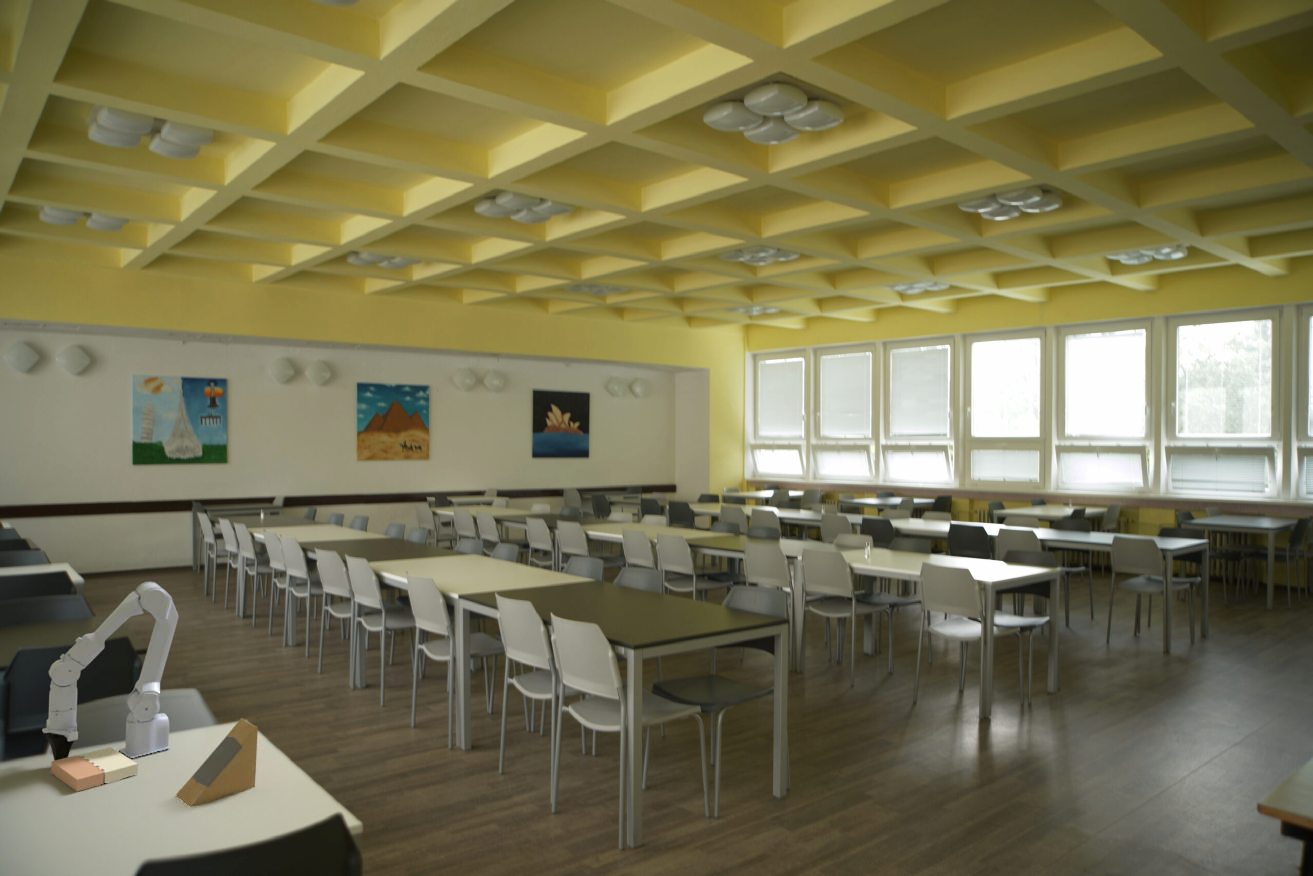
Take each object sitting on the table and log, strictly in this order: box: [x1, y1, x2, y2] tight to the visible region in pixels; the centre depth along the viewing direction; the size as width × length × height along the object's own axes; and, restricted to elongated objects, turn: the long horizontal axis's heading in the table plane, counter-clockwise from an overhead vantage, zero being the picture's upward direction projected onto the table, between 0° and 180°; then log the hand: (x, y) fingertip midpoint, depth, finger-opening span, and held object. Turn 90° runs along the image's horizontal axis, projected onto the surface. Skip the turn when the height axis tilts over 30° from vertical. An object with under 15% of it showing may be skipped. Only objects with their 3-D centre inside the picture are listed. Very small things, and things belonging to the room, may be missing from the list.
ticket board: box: [78, 747, 139, 784], centre depth 209 cm, size 7×16×3 cm, turn 54°
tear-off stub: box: [50, 754, 104, 792], centre depth 204 cm, size 6×16×3 cm, turn 54°
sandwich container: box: [175, 717, 259, 807], centre depth 200 cm, size 9×15×15 cm, turn 141°
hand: (60, 762), depth 210 cm, fingers closed
